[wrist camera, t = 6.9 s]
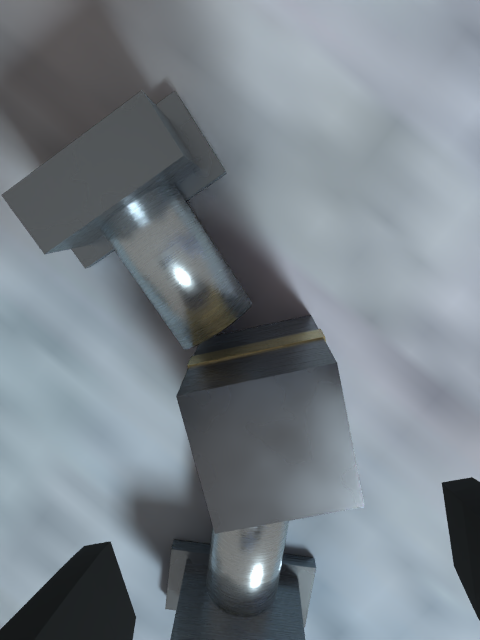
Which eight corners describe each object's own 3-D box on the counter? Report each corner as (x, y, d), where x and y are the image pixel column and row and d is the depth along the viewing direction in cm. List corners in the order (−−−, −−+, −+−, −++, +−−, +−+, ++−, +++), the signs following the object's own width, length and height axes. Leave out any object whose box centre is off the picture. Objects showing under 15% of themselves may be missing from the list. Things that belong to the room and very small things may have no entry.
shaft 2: (182, 452, 20) (162, 519, 15) (330, 471, 20) (351, 543, 15) (167, 597, 21) (145, 694, 17) (303, 615, 21) (315, 716, 17)
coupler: (333, 418, 19) (366, 508, 13) (226, 439, 20) (213, 535, 14) (311, 313, 18) (338, 360, 12) (199, 337, 19) (174, 394, 13)
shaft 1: (289, 272, 18) (299, 292, 13) (155, 357, 19) (125, 400, 14) (177, 94, 16) (149, 54, 12) (40, 195, 17) (-31, 191, 13)
